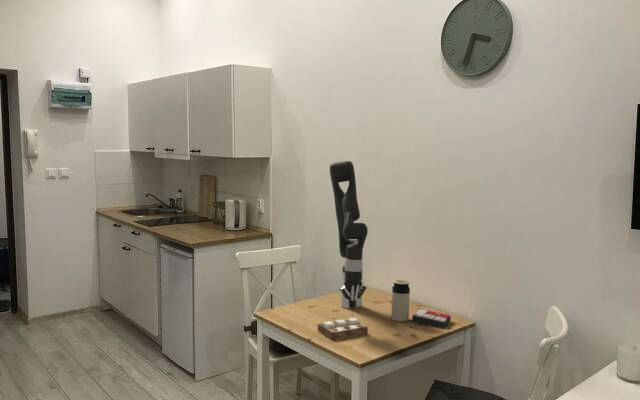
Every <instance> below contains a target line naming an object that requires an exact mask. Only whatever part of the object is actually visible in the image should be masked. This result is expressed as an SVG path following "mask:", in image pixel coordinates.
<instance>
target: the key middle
mask: <svg viewBox="0 0 640 400" xmlns="http://www.w3.org/2000/svg"><path fill="white" fill-rule="evenodd" d="M345 320H346V319H337V320H334V322H335V325H337V326H339V327H341V326H347V322H346V321H345Z"/></svg>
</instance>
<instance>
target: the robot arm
mask: <svg viewBox="0 0 640 400" xmlns="http://www.w3.org/2000/svg"><path fill="white" fill-rule="evenodd" d="M329 174H330V179H331V181H330V182H331V186H332V190H333V191H332V192H333V197H334V208H335V217H336V222H337V229H338V244H339V254H340V256H341V258H344V259H345V262H344V263H345V264H344V265H343V266H342V268H341V269H342V270H341V272H342V273H341V278H342V279H341V287H339V291H340V293H341V298H340V299H341V303H340V304H341V305H340V306H341V307H343V308H345V309H351V310H354V309H359V308H360V307H362V301H363V300H362V299H363V294H364V292H366V290H367V286H365V285H364V284H363V282H362V281H363V252H364V251H363V250H364V246H365V242H366V239H367V237H368V236H367V235H368V233H369V232H368V231H369V230H368V226H367V224H366V223H363V222H356V221H358V220H360V218H361V214H360V213H361V212H360V208H359V204H358V194H357V184H356V183H357V182H356V176H355V175H356V172H355V167H354V164H353V162H352V161H351V160H344V161H338V162H334V163H330V165H329ZM345 182H348V186H347V190H346V191H344V190H343V189H342V188H341V185H340V184H339V183H345Z"/></svg>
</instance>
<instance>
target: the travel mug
mask: <svg viewBox="0 0 640 400" xmlns="http://www.w3.org/2000/svg"><path fill="white" fill-rule="evenodd" d="M409 284H410V281H409V280H407V279H403V278H402V279H393V286H392V287H391V290H392V291H391V292H392V293H391V313H390V315H391V317H390V319H391V320H393V321H394V322H399V323H403V322H407V321H409V320H410V319H409V318H410V317H409V314H410V295H411V293H410V291H411V288H410V285H409Z"/></svg>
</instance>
